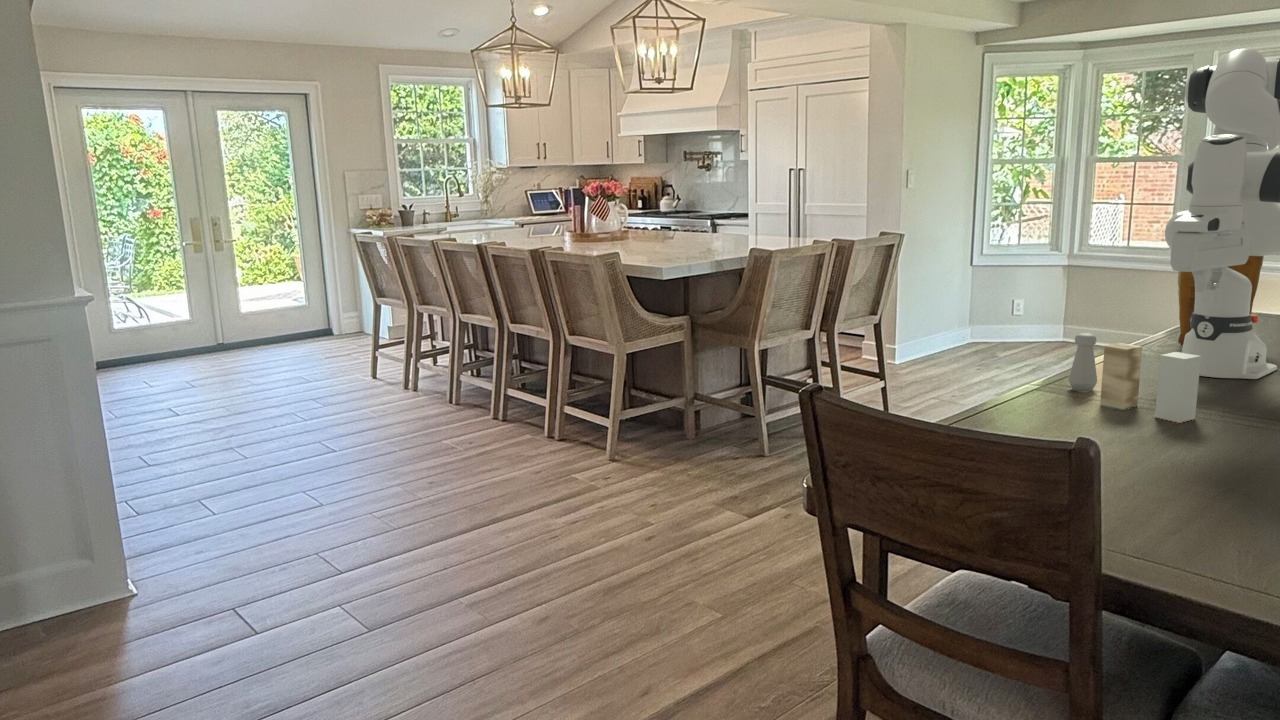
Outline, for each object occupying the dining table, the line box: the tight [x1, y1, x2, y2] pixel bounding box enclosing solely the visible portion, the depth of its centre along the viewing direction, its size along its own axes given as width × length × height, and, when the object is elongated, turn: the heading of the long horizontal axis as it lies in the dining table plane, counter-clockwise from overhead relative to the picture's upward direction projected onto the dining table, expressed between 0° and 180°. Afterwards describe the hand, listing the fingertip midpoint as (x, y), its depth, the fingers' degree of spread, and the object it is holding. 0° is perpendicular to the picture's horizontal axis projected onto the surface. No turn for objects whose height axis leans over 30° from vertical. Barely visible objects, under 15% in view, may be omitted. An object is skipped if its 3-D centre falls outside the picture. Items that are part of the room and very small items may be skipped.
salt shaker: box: [1068, 332, 1098, 393], centre depth 200 cm, size 6×6×13 cm
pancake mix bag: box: [1177, 256, 1265, 344], centre depth 239 cm, size 7×19×28 cm, turn 53°
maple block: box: [1099, 342, 1143, 411], centre depth 186 cm, size 5×5×13 cm
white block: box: [1154, 351, 1201, 424], centre depth 176 cm, size 5×5×13 cm
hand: (1207, 290), depth 175 cm, fingers open, 2 cm apart
